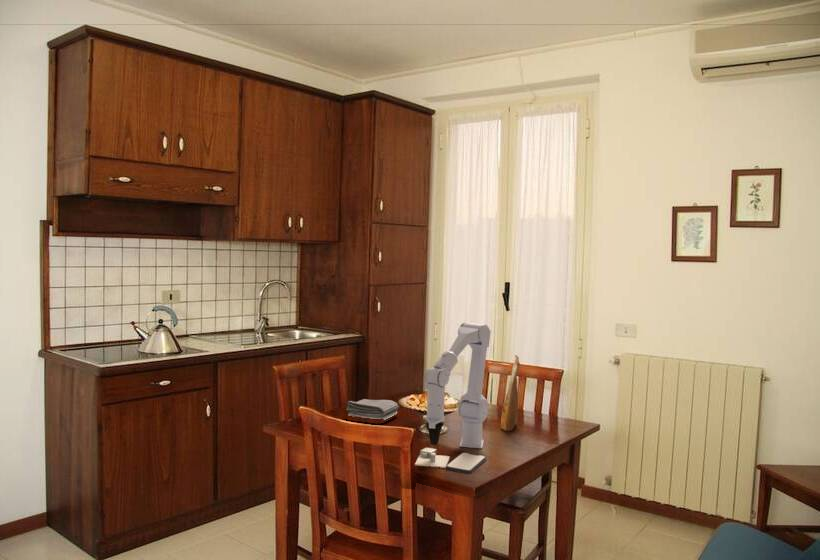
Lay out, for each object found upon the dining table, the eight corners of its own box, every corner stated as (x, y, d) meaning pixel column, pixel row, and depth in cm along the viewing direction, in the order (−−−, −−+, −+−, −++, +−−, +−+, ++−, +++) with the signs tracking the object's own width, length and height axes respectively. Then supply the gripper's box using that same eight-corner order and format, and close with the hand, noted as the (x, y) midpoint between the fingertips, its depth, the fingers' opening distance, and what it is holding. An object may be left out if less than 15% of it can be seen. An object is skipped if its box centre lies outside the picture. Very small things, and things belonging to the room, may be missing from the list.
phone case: (470, 476, 199) (487, 460, 213) (470, 471, 199) (487, 456, 213) (444, 471, 203) (462, 456, 217) (444, 466, 202) (462, 451, 217)
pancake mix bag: (520, 421, 265) (523, 354, 264) (516, 433, 246) (519, 361, 245) (504, 419, 267) (507, 353, 265) (498, 431, 248) (501, 360, 247)
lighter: (425, 452, 218) (414, 458, 210) (425, 447, 217) (415, 453, 210) (444, 455, 214) (434, 462, 207) (444, 450, 214) (434, 457, 207)
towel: (384, 426, 251) (385, 406, 251) (343, 420, 258) (343, 401, 257) (399, 417, 265) (399, 399, 265) (359, 412, 272) (360, 394, 272)
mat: (420, 454, 216) (420, 453, 216) (449, 457, 214) (449, 456, 214) (414, 465, 205) (414, 463, 205) (445, 468, 203) (445, 466, 203)
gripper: (427, 398, 219) (425, 437, 220) (420, 408, 205) (418, 449, 205) (447, 399, 218) (446, 439, 218) (441, 409, 204) (440, 451, 204)
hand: (434, 444), depth 212 cm, fingers closed
